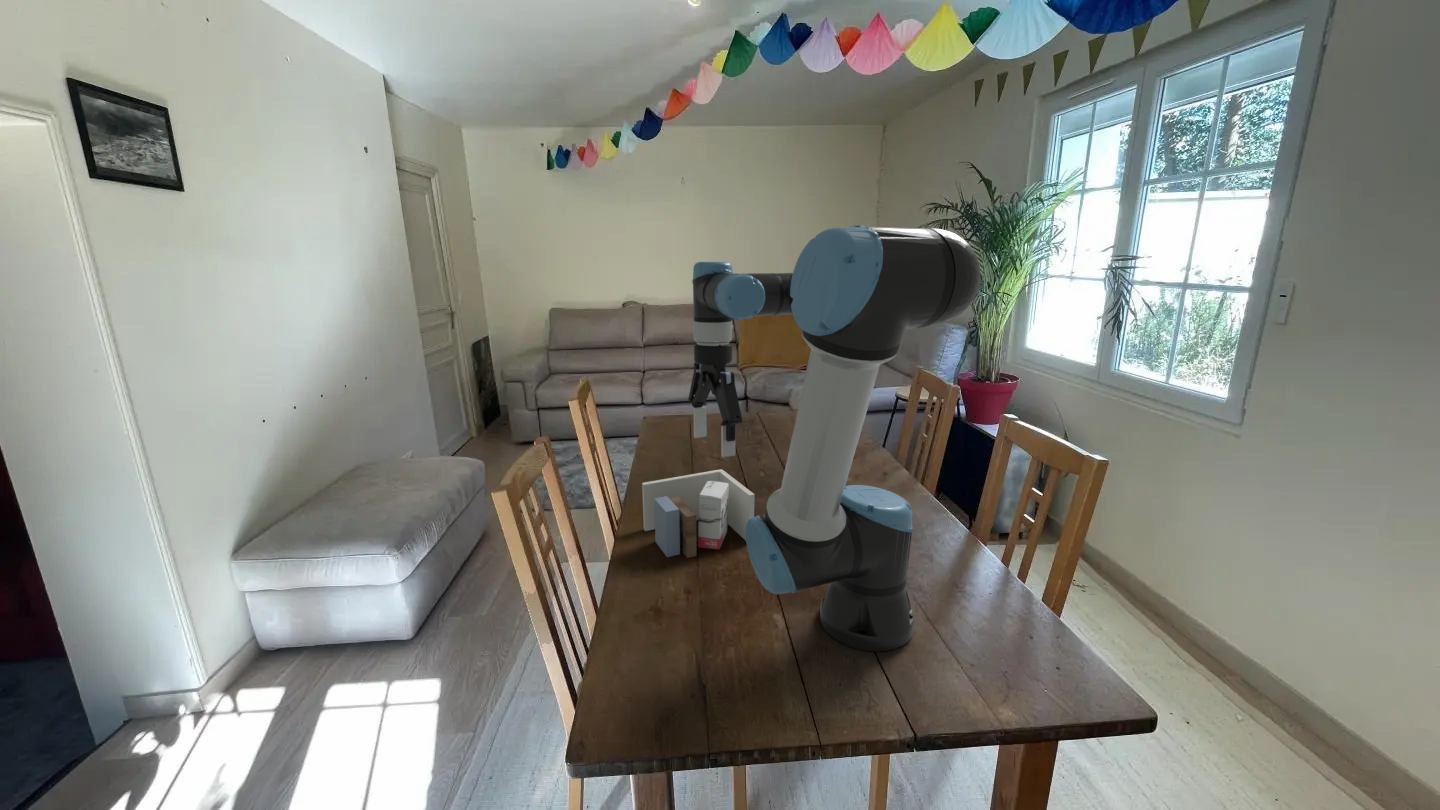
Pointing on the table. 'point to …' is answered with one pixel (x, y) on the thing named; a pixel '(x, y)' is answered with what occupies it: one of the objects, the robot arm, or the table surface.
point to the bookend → (686, 528)
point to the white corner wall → (690, 505)
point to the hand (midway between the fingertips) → (713, 446)
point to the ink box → (713, 514)
